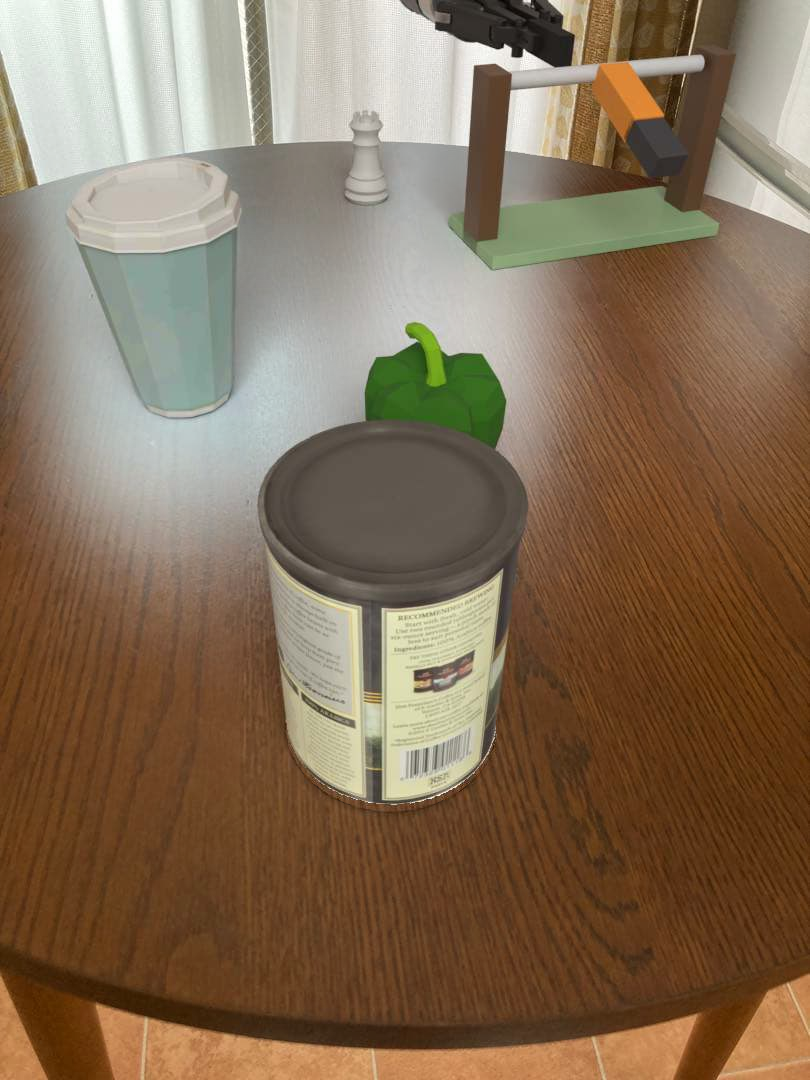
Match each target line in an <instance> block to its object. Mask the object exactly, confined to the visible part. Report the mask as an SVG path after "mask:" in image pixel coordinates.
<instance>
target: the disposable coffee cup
mask: <svg viewBox="0 0 810 1080" xmlns="http://www.w3.org/2000/svg"><path fill="white" fill-rule="evenodd" d="M242 212H243V208H242V207H241V202H240V197H239V194H237V193H236V192H235V191H234V190H232V189H231V187H230V179H229V175H228V174H227V173H226V172H224V171H223V170H221V168H219V167H218V166H216V165H215V164H212V163H210V162H207V161H204V160H198V159H194V158H190V157H189V158H188V157H183V156H178V157H166V158H156V159H155V158H154V159H145V160H140V161H138V162H133V163H131V164H127V165H123V166H119V167H116V168H113V169H109V170H107V171H104V172H103V173H102V174H100V175H98V176H96V177H93V179H91V180H89V181H87V182H85V183H83V184H82V185H81V186H80V187H79V189H78V191H77V192H76V194H75V196H74V198H73V199H72V201H71V203H70V205H69V207H68V208H67V210H66V211H65V213H64V214H65V219H66V227H65V228H66V230H67V231H68V232H69V233H70V234H71V236H72V237H73V239H74V242H75V244H76V246H77V249H78V251H79V254H80V256H81V258H82V261H83V263H84V266H85V268H86V270H87V274H88V276H89V279H90V281H91V284H92V286H93V289H94V291H95V294H96V297H97V299H98V301H99V303H100V306H101V310H102V312H103V314H104V317H105V318H106V322H107V324H108V326H109V329H110V332H111V334H112V336H113V339H114V341H115V344H116V346H117V349H118V351H119V354H120V356H121V359H122V362H123V364H124V367H125V369H126V372H127V375H128V378H129V379H130V381H131V385H132V387H133V389H134V392H135V393H136V395H137V396H138V398H140V400H141V402H142V403H143V404H144V406H146V408H147V409H148V411H149V412H151V413H153V414H157V415H159V416H162V417H165V418H168V419H169V418H171V419H172V418H194V417H197V416H201V415H204V414H207V413H211V412H214V411H216V410H217V409H218V408H219V407H221V406H222V405H223V404H224V403H226V402H227V401H228V400H229V397H230V392H231V391H232V387H233V383H234V379H235V350H236V349H235V346H236V344H235V343H236V341H235V340H236V304H237V303H236V301H237V266H238V265H237V261H238V260H237V259H238V225H239V221H240V218H241V215H242Z"/></svg>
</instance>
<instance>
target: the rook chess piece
mask: <svg viewBox="0 0 810 1080" xmlns="http://www.w3.org/2000/svg"><path fill="white" fill-rule="evenodd" d="M348 126H349V128H350V129H351V131H352V132H353V137H352V139H351V144H352V145H353V156H352V166H351V169H350V171H349V172H348V173H349V175H348V176H347V178H346V179H345V182H344V185H345V188H346V190H345V191H344V196H345V197H346V199H347V200H348V201H349V202H351V203H352V204H356V205H360V206H375V205H379V204H381V203H383V202H385V200H386V199H387V198H388V196H389V194H390V193H389V191H388V189H387V188H388V186H389V184H388V180H387V178H386V177H385V176H384V173H385V172H384V171H383V170H382V166H381V160H380V154H379V151H380V150H379V148H380V147H379V145H380V144H381V142H382V141H381V139H380V138H379V133H380V132H381V130H382V129H383V127H384V125H383V122H382V121H381V119H380V113H377V111H375V110H371V111H370V115H369V110H368V109H367V110H365V109H364V110H362V115H361V112H360V111H359V110H357V111H354V113H352V119H351V121H350V122H349V124H348Z"/></svg>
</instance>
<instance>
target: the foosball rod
mask: <svg viewBox="0 0 810 1080" xmlns="http://www.w3.org/2000/svg"><path fill="white" fill-rule="evenodd" d="M704 63H705V61H704V57H703V56H702V55H694V54H691V55H679V56H670V57H669V56H668V57H657V58H645V59H637V60H636V59H635V60H626V61H625V60H624V61H623V60H622V61H612V62H603V63H590V64H578V65H571V66H567V67H546V68H536V69H535V68H534V69H523V70H522V69H521V70H511V71H509V72H510V73H511V74H512V80H511V91H519V90H529V89H540V88H550V87H560V86H571V85H581V84H592V85H591V88H590V91H591V93H592V94H593V96H594V97H595V99H596V101H597V102H598V104H599V105H600V107H601V109H603V111H604V113H605V114H606V116H607V117H608V119H609V121H610V122H611V124H612V125H613V127H614V129H615V130H616V132H617V134H618V135H619V137H620V138H621V140H622V141H623V143H624V144H627V146H628V147H629V149H630V150H631V152H632V153H633V155H634V157H635V158H636V159H637V161H638V163H639V164H640V166H641V167H642V169H643V170H644V172H645V174H646V176H647V177H648V178H649V179H658V178H665V177H669V176H674V175H679V174H680V172H681V170H682V168H683V166H684V163H685V161H686V159H687V157H688V155H689V154H688V152H687V151H686V149H685V148H684V146H683V145H682V143H681V142H680V141H679V139H678V138H677V136H678V135H676V133H675V132H674V130H673V129H672V127H671V126H670V124H669V123H668V122H667V120H666V118H665V114H664V112H663V111H662V109H661V108H660V106H659V105H658V104H657V102H656V100H655V99H654V98H653V96H652V94H651V93H650V91H648V89H647V88H646V86H645V84H644V83H643V82H642V80H641V79H644V78H645V79H646V78H654V77H663V76H664V77H665V76H675V75H676V76H677V75H686V74H687V75H688V74H691V73H698V72H701V71H702V70H703V68H704Z"/></svg>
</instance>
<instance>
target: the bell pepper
mask: <svg viewBox="0 0 810 1080" xmlns="http://www.w3.org/2000/svg"><path fill="white" fill-rule="evenodd" d="M404 331H405V334H406V335H407V336H408V338H409V339H410V340H411V339H413V340H414V339H415V340H416V342H413V343H412V344H410V345H409V346H407V347H405V348H403V349H402V350H400V351H398V352H396V353H395V354H393V355H386V356H385V355H383V356H376V357H375V359H374V361H373V362H372V365H371V367H370V369H369V371H368V376H367V379H366V384H365V389H364V415H365V416H364V417H365V421H371V420H413V421H422V422H428V423H433V424H438V425H442V426H446V427H449V428H452V429H455V430H457V431H461V432H464V433H466V434H468V435H470V436H473V437H475V438H477V439H479V440H481V441H483V442H484V443H486V444H488V445H489V446H491V447H492V448H493V449H495V450H496V448H497V446H498V442H499V440H500V438H501V435H502V432H503V429H504V425H505V424H504V423H505V415H506V408H507V398H506V395H505V392H504V390H503V387H502V384H501V381H500V380H499V378H498V376H497V375H496V373H495V372H494V370H493V368H492V367H491V365H490V364H489V362H488V360H487V359H486V357H485V356H484V354H483V353H478V352H477V353H475V352H459V353H454V354H451V355H448V354H447V353H446V352H444V351H443V350H442V347H441V345H440V343H439V341H438V340H437V338H436V336H435V334H434V332H433V331H432V330H431V329H429V328H428V327H427V326H426V325H425V324H423V323H421V322H416V321H413V322H408V323H407V324H406V325H405V327H404Z"/></svg>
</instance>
